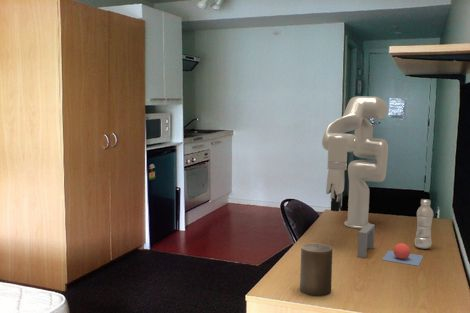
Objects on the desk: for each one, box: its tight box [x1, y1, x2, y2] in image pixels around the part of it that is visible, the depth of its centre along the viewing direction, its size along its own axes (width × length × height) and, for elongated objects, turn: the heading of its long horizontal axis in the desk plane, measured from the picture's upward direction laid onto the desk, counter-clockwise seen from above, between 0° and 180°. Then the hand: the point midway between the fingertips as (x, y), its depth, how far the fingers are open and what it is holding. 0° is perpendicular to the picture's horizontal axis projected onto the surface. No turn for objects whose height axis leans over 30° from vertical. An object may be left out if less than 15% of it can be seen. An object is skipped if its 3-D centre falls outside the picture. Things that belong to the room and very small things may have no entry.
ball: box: [393, 242, 411, 259], centre depth 179 cm, size 6×6×6 cm
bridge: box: [356, 223, 376, 259], centre depth 186 cm, size 3×15×10 cm, turn 152°
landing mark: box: [381, 250, 424, 267], centre depth 180 cm, size 13×13×1 cm
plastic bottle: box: [414, 198, 434, 250], centre depth 192 cm, size 6×7×20 cm
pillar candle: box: [299, 242, 333, 297], centre depth 147 cm, size 10×10×15 cm
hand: (335, 210), depth 191 cm, fingers closed
